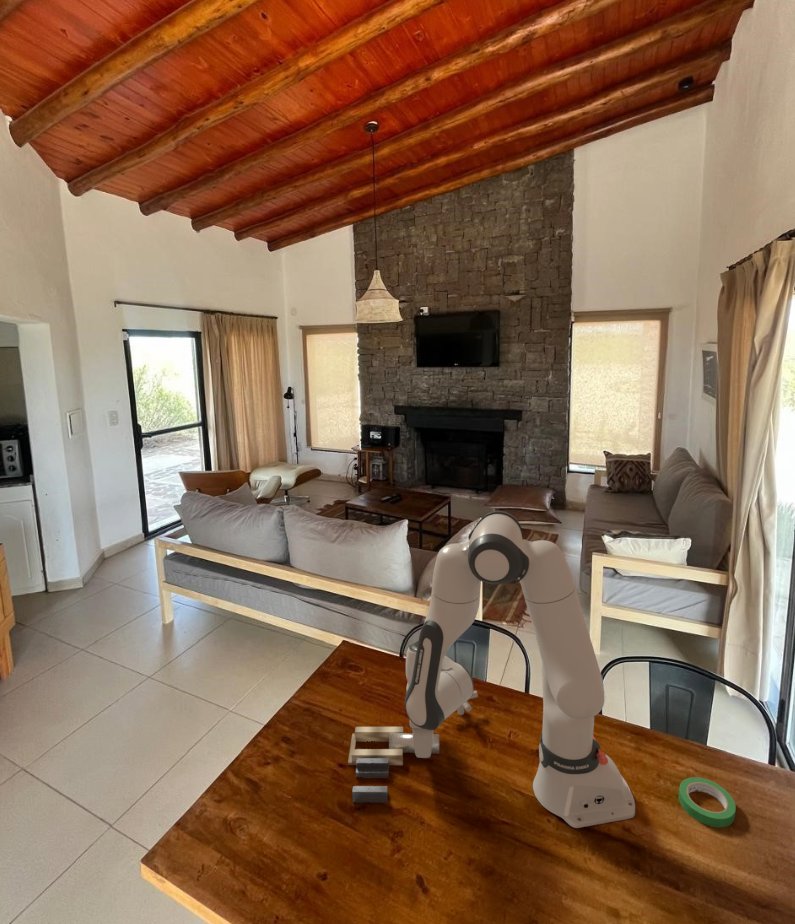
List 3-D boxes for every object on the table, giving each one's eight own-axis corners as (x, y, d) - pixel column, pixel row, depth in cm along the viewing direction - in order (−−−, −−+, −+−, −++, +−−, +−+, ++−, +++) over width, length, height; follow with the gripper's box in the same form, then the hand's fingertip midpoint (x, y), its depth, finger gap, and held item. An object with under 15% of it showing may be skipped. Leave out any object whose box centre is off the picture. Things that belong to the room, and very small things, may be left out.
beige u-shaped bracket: (403, 736, 141) (403, 726, 141) (402, 765, 131) (402, 755, 131) (352, 736, 142) (352, 726, 141) (348, 765, 132) (347, 755, 131)
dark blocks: (388, 768, 131) (388, 758, 130) (386, 802, 121) (386, 791, 120) (357, 768, 131) (356, 758, 130) (352, 802, 121) (352, 791, 120)
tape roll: (701, 832, 112) (702, 822, 111) (667, 790, 123) (668, 780, 122) (746, 823, 114) (748, 814, 113) (709, 783, 124) (710, 773, 124)
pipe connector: (468, 698, 156) (468, 668, 153) (484, 720, 146) (484, 689, 144) (438, 706, 153) (437, 676, 150) (452, 729, 143) (452, 697, 141)
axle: (439, 744, 138) (439, 730, 137) (439, 757, 134) (439, 743, 132) (390, 742, 139) (390, 729, 138) (389, 755, 135) (388, 741, 134)
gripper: (413, 673, 143) (415, 716, 146) (409, 727, 123) (410, 775, 126) (436, 674, 142) (437, 717, 145) (435, 728, 122) (436, 776, 126)
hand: (424, 745), depth 136 cm, fingers closed on axle, 4 cm apart
